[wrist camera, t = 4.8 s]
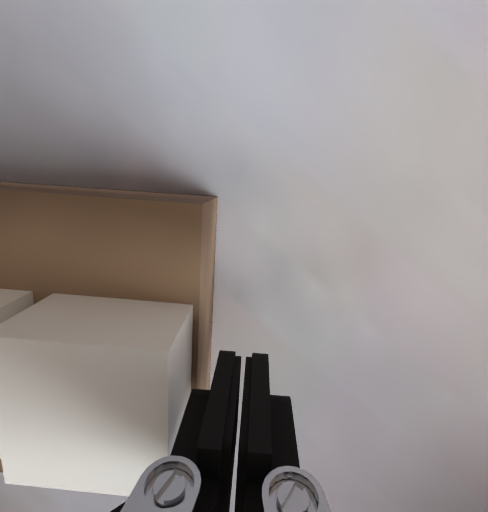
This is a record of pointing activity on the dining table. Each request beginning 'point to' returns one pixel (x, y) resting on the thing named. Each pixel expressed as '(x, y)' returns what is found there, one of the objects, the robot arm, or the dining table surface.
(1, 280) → the board
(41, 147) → the dining table surface
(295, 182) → the dining table surface
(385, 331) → the dining table surface
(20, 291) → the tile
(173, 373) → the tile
